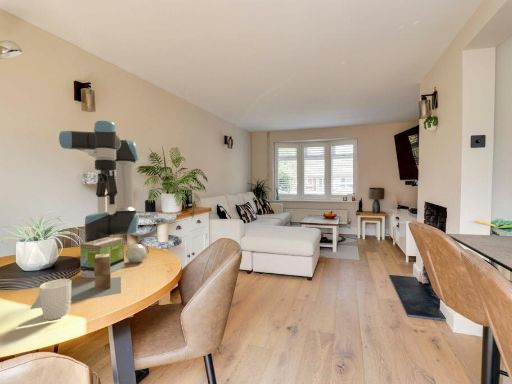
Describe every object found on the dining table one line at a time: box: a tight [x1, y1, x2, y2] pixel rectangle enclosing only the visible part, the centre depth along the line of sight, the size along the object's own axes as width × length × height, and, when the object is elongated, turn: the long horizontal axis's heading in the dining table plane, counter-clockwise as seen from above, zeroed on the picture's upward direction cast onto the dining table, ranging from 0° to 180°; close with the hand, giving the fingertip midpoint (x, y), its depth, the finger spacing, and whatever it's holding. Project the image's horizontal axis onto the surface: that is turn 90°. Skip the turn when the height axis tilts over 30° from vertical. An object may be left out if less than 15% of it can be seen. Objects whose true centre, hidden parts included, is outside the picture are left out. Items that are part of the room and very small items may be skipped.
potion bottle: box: [125, 243, 150, 264], centre depth 137 cm, size 9×10×15 cm
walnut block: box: [94, 253, 112, 291], centre depth 102 cm, size 5×5×12 cm
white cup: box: [38, 278, 73, 322], centre depth 82 cm, size 8×8×10 cm
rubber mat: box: [29, 276, 122, 310], centre depth 99 cm, size 26×18×1 cm
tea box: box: [80, 236, 125, 279], centre depth 119 cm, size 15×10×15 cm, turn 168°
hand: (106, 212), depth 107 cm, fingers open, 13 cm apart
